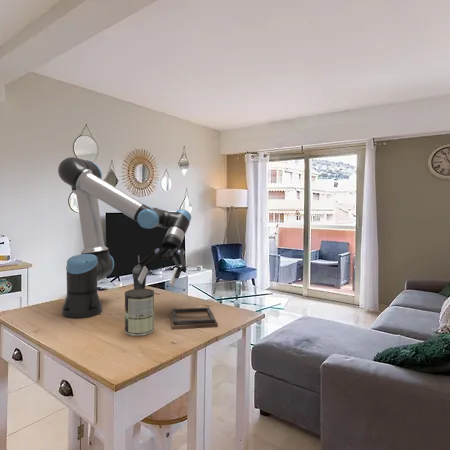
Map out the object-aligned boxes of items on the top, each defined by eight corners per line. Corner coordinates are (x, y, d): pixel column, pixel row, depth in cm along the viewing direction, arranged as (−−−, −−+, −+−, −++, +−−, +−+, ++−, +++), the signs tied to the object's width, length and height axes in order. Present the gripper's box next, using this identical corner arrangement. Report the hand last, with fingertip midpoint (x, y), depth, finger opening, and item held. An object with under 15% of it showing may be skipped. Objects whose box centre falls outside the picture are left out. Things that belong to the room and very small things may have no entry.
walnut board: (169, 314, 139) (169, 308, 139) (210, 312, 143) (210, 306, 143) (171, 329, 123) (171, 322, 123) (217, 326, 126) (217, 320, 126)
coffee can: (118, 331, 120) (118, 292, 119) (141, 323, 128) (141, 286, 127) (137, 338, 114) (137, 297, 113) (160, 329, 122) (160, 291, 121)
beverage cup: (136, 299, 160) (136, 257, 159) (129, 295, 166) (129, 255, 165) (149, 296, 165) (150, 256, 164) (142, 293, 171) (143, 254, 169)
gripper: (203, 247, 141) (188, 291, 128) (150, 244, 148) (131, 285, 135) (198, 236, 135) (182, 280, 122) (143, 233, 143) (123, 275, 130)
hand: (155, 283), depth 129 cm, fingers open, 13 cm apart
